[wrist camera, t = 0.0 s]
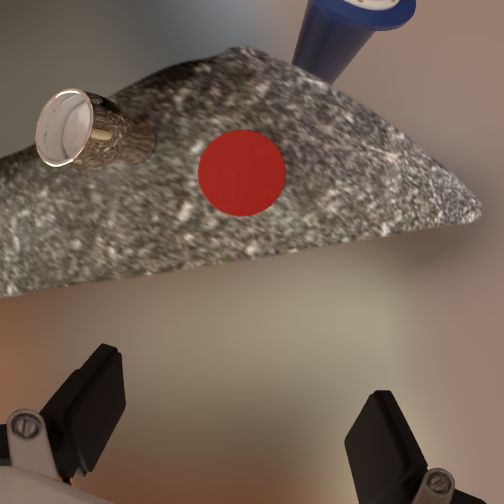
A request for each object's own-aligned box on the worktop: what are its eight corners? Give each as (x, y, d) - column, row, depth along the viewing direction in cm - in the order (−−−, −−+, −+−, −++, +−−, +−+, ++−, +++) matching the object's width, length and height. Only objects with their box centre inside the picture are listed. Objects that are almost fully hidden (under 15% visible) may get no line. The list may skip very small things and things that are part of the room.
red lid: (210, 127, 23) (206, 123, 21) (291, 141, 23) (294, 138, 21) (195, 206, 25) (190, 208, 23) (275, 221, 25) (276, 224, 23)
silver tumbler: (126, 107, 31) (55, 77, 16) (169, 127, 32) (110, 98, 17) (102, 156, 33) (23, 152, 18) (143, 178, 33) (72, 182, 19)
